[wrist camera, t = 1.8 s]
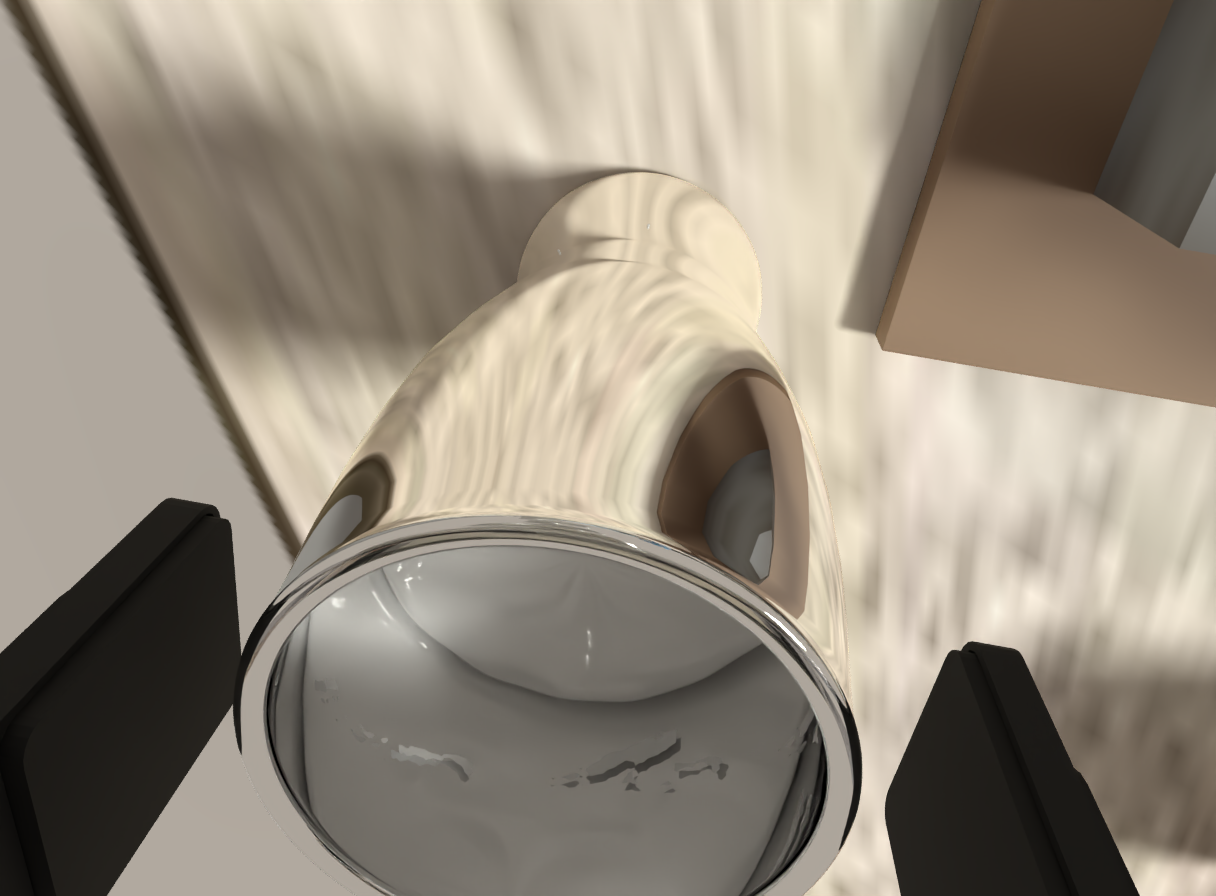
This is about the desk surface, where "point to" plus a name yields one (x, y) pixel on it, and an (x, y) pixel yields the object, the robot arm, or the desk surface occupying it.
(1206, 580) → the desk surface
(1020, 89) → the u rest
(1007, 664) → the robot arm
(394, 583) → the beer glass
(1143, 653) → the desk surface
